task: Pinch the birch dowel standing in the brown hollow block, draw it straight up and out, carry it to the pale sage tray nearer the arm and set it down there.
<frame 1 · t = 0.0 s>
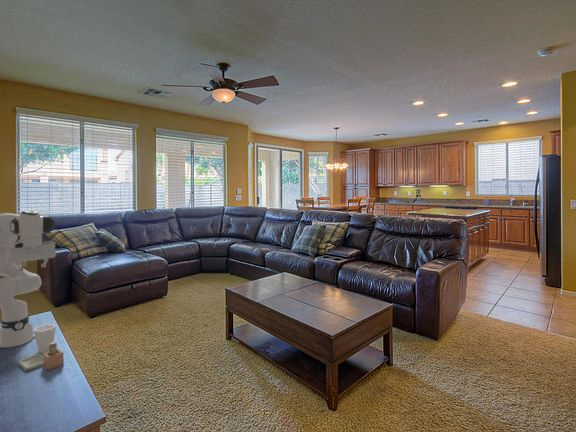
hand: (32, 268, 162), 48 cm above the table, fingers open, 8 cm apart
foam cup: (45, 350, 173), on the table
dowel: (53, 364, 158), point 1 cm above the table, touching brown hollow block
brown hollow block: (53, 366, 158), on the table
tray: (33, 363, 160), on the table
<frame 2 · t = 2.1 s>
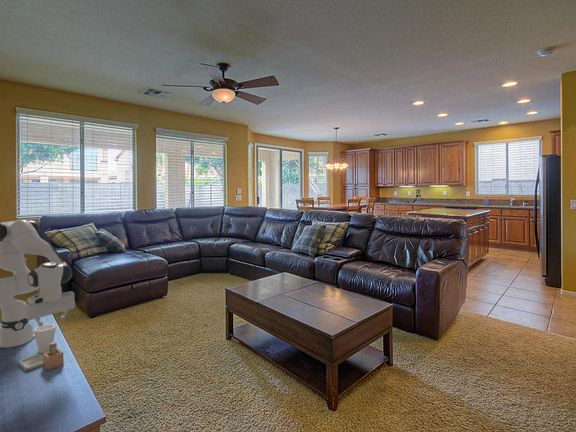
hand: (52, 322, 156), 23 cm above the table, fingers open, 8 cm apart
nothing on the table moved.
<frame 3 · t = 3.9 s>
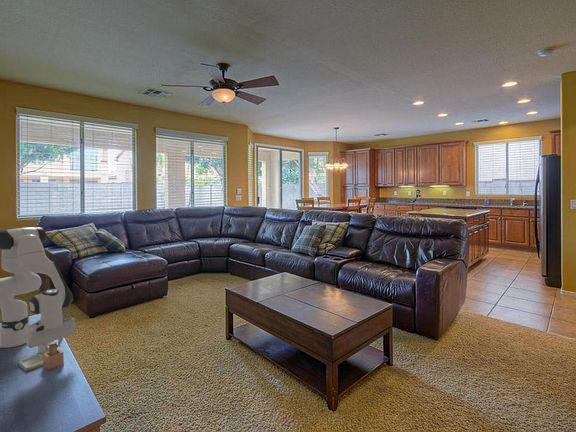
hand: (53, 348, 157), 9 cm above the table, fingers closed on dowel, 3 cm apart
dowel: (53, 364, 158), point 1 cm above the table, touching brown hollow block, gripper
everything else where it was.
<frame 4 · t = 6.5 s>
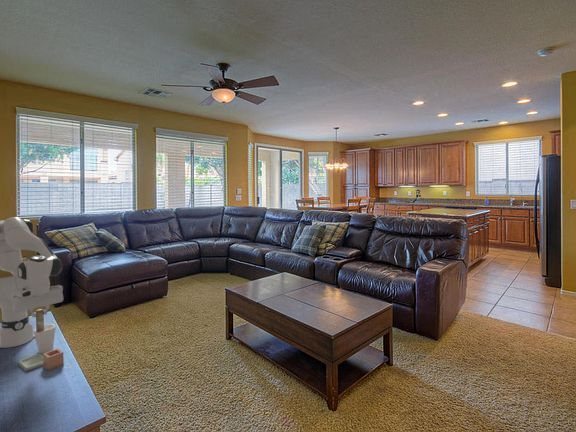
hand: (39, 315, 157), 26 cm above the table, fingers closed on dowel, 3 cm apart
dowel: (40, 331, 158), point 17 cm above the table, touching gripper
everything else where it was.
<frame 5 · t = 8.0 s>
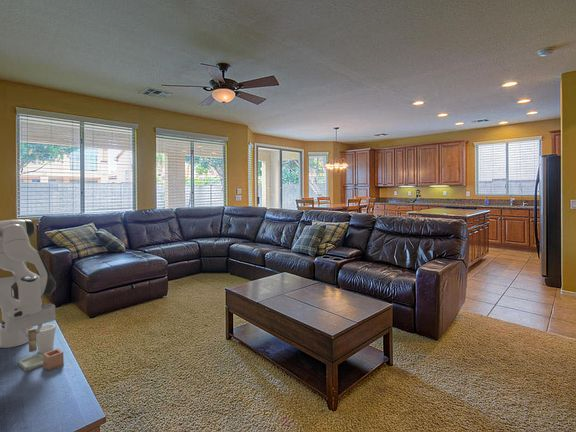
hand: (32, 334, 159), 15 cm above the table, fingers closed on dowel, 3 cm apart
dowel: (32, 350, 159), point 7 cm above the table, touching gripper
everything else where it was.
when the fingers open (10 cm above the table, at t = 9.2 s): dowel drops 1 cm, resting on tray.
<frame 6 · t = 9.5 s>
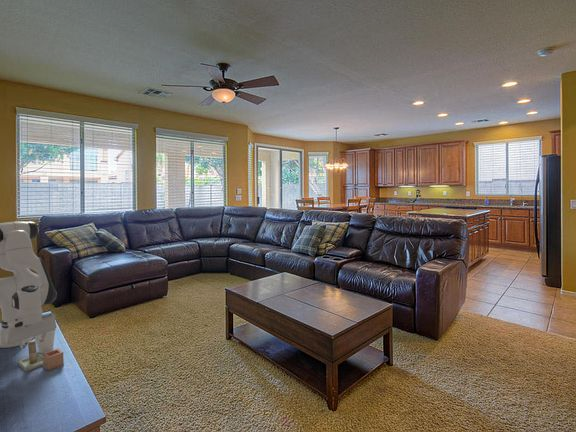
hand: (32, 344, 159), 10 cm above the table, fingers open, 6 cm apart
dowel: (33, 362, 160), point 1 cm above the table, touching tray
everything else where it was.
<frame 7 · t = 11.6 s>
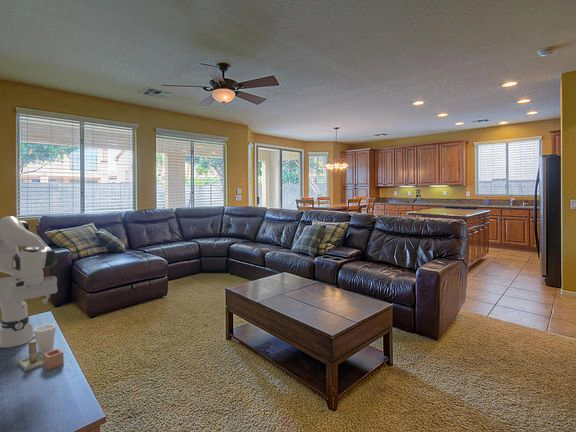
hand: (33, 306, 158), 30 cm above the table, fingers open, 8 cm apart
nothing on the table moved.
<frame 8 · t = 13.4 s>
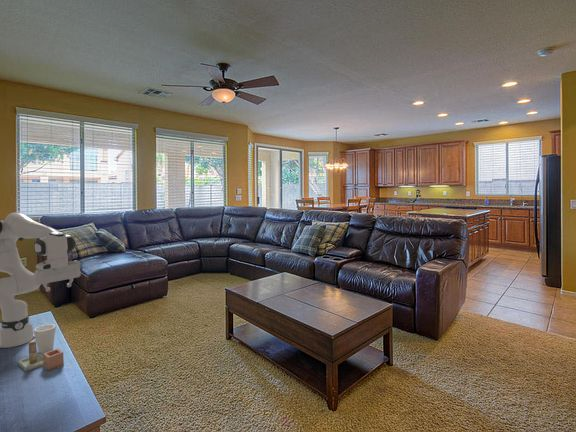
hand: (58, 288, 164), 37 cm above the table, fingers open, 8 cm apart
nothing on the table moved.
at the end: dowel inside the target area on the tray (0.0 cm from its centre), point 0.6 cm above the tray's base; the gripper is holding nothing; dowel touching tray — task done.
